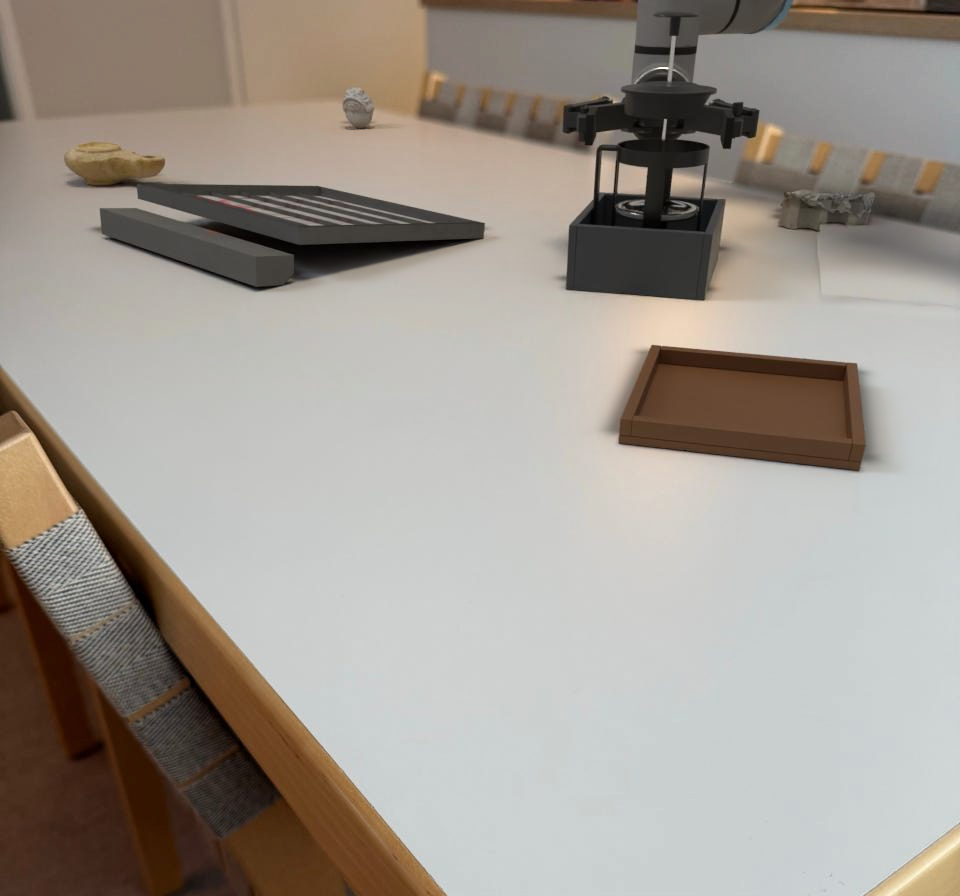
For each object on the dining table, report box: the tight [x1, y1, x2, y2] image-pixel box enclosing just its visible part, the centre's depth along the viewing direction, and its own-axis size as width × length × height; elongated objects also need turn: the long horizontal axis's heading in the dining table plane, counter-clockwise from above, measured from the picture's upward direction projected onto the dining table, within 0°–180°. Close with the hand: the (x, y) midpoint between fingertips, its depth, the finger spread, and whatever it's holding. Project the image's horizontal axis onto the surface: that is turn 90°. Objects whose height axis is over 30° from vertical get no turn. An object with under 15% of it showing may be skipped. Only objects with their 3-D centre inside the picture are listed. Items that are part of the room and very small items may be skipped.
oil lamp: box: [63, 141, 166, 186], centre depth 139 cm, size 11×14×5 cm
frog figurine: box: [341, 86, 375, 129], centre depth 184 cm, size 6×7×7 cm
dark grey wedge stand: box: [99, 183, 486, 288], centre depth 112 cm, size 32×7×31 cm
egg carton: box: [778, 188, 875, 232], centre depth 117 cm, size 11×8×4 cm
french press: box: [592, 10, 718, 231], centre depth 93 cm, size 12×9×23 cm
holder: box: [565, 191, 727, 301], centre depth 98 cm, size 14×17×6 cm
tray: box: [617, 344, 867, 471], centre depth 69 cm, size 16×16×2 cm
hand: (658, 132), depth 94 cm, fingers open, 13 cm apart
